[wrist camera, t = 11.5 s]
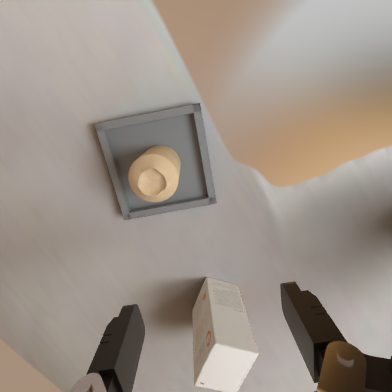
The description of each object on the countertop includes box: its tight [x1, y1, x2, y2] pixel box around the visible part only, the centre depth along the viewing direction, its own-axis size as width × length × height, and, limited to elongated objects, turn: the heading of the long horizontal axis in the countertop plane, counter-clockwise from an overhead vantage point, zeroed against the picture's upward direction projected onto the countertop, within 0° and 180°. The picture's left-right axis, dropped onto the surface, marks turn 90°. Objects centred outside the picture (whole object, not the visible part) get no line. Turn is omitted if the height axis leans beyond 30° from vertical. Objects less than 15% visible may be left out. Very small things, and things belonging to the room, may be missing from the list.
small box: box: [192, 277, 259, 392], centre depth 37 cm, size 8×6×13 cm
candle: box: [128, 145, 181, 202], centre depth 29 cm, size 6×6×10 cm
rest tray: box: [94, 103, 216, 220], centre depth 33 cm, size 14×14×2 cm
